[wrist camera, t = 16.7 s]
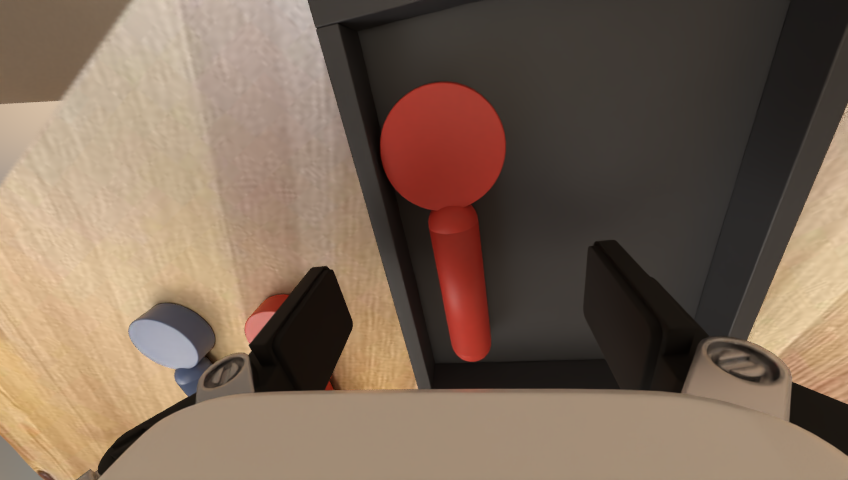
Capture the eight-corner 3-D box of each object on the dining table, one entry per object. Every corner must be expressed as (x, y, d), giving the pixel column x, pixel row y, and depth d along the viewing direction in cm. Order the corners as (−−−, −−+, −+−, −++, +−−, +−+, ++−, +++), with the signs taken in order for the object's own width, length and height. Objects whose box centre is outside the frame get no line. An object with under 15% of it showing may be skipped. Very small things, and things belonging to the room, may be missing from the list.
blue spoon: (136, 304, 21) (103, 327, 19) (193, 300, 20) (164, 324, 18) (229, 423, 27) (211, 449, 25) (275, 424, 26) (260, 451, 24)
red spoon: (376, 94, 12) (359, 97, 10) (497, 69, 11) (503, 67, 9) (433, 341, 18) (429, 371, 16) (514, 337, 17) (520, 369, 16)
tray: (337, 13, 12) (306, -3, 9) (839, -120, 9) (974, -191, 6) (426, 364, 20) (421, 400, 18) (688, 358, 17) (722, 399, 15)
